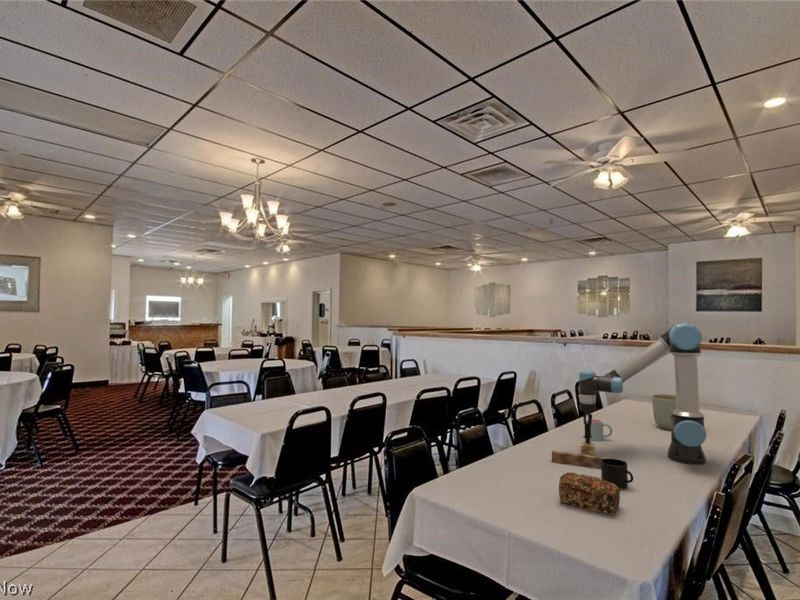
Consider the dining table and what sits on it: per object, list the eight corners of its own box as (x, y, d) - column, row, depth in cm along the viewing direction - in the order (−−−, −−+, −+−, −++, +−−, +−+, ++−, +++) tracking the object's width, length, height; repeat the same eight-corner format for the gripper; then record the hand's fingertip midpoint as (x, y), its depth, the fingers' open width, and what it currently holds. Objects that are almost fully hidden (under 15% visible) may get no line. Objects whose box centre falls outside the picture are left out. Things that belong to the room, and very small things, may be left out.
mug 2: (627, 493, 165) (627, 469, 165) (597, 484, 174) (596, 461, 174) (638, 487, 171) (638, 464, 171) (608, 478, 180) (608, 456, 180)
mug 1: (585, 440, 236) (585, 422, 237) (584, 436, 245) (584, 418, 245) (613, 443, 231) (612, 424, 232) (611, 438, 240) (611, 420, 240)
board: (614, 468, 192) (613, 457, 192) (614, 470, 189) (614, 459, 190) (552, 460, 203) (552, 450, 204) (551, 462, 201) (551, 452, 201)
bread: (558, 503, 156) (557, 475, 157) (567, 494, 165) (567, 467, 165) (614, 518, 145) (613, 487, 145) (621, 507, 153) (620, 478, 153)
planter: (692, 427, 264) (692, 396, 265) (694, 435, 247) (693, 401, 248) (653, 423, 276) (652, 393, 276) (652, 430, 258) (651, 398, 259)
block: (594, 456, 209) (594, 443, 210) (594, 459, 204) (594, 447, 204) (581, 454, 212) (581, 442, 212) (580, 458, 206) (580, 445, 207)
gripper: (580, 399, 221) (580, 446, 220) (578, 404, 209) (578, 453, 208) (596, 401, 218) (596, 448, 217) (595, 405, 206) (595, 455, 205)
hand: (588, 450), depth 213 cm, fingers closed
